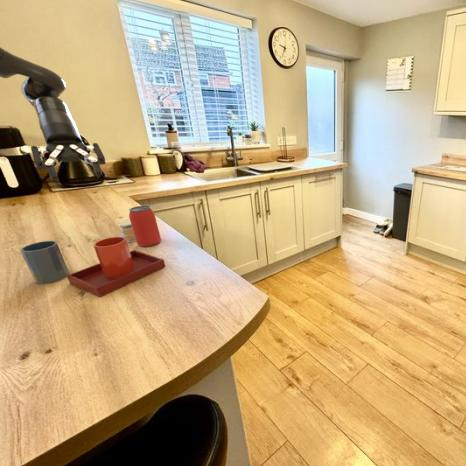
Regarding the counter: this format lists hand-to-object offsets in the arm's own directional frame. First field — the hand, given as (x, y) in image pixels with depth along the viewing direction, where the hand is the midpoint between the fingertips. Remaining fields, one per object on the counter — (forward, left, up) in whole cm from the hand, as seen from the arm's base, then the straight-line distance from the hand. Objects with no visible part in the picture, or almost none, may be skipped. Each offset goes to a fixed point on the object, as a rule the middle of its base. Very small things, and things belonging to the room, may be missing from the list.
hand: (78, 177), depth 78 cm
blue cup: (-14, -4, -23) cm, 27 cm away
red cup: (-5, -18, -22) cm, 29 cm away
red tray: (-5, -18, -23) cm, 30 cm away
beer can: (+11, -5, -23) cm, 26 cm away
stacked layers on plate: (+12, +5, -23) cm, 27 cm away
